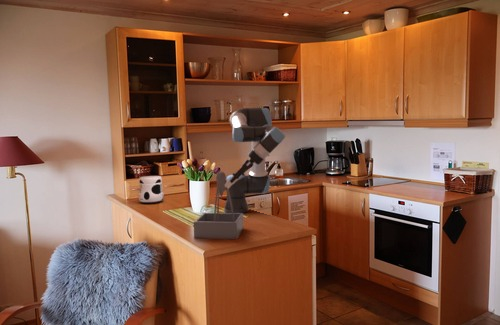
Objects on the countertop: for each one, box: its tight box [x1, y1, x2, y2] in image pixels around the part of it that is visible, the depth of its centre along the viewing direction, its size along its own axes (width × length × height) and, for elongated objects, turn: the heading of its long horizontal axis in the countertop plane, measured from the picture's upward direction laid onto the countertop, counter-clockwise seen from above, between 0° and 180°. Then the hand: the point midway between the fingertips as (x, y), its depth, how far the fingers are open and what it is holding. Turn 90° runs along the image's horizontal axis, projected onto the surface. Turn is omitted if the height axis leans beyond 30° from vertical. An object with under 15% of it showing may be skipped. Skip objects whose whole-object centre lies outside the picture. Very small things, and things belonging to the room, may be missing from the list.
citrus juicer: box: [213, 171, 235, 222], centre depth 209 cm, size 11×10×30 cm
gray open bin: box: [193, 212, 244, 240], centre depth 211 cm, size 20×21×8 cm
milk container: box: [138, 175, 165, 204], centre depth 296 cm, size 17×17×18 cm
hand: (228, 184), depth 208 cm, fingers open, 13 cm apart
